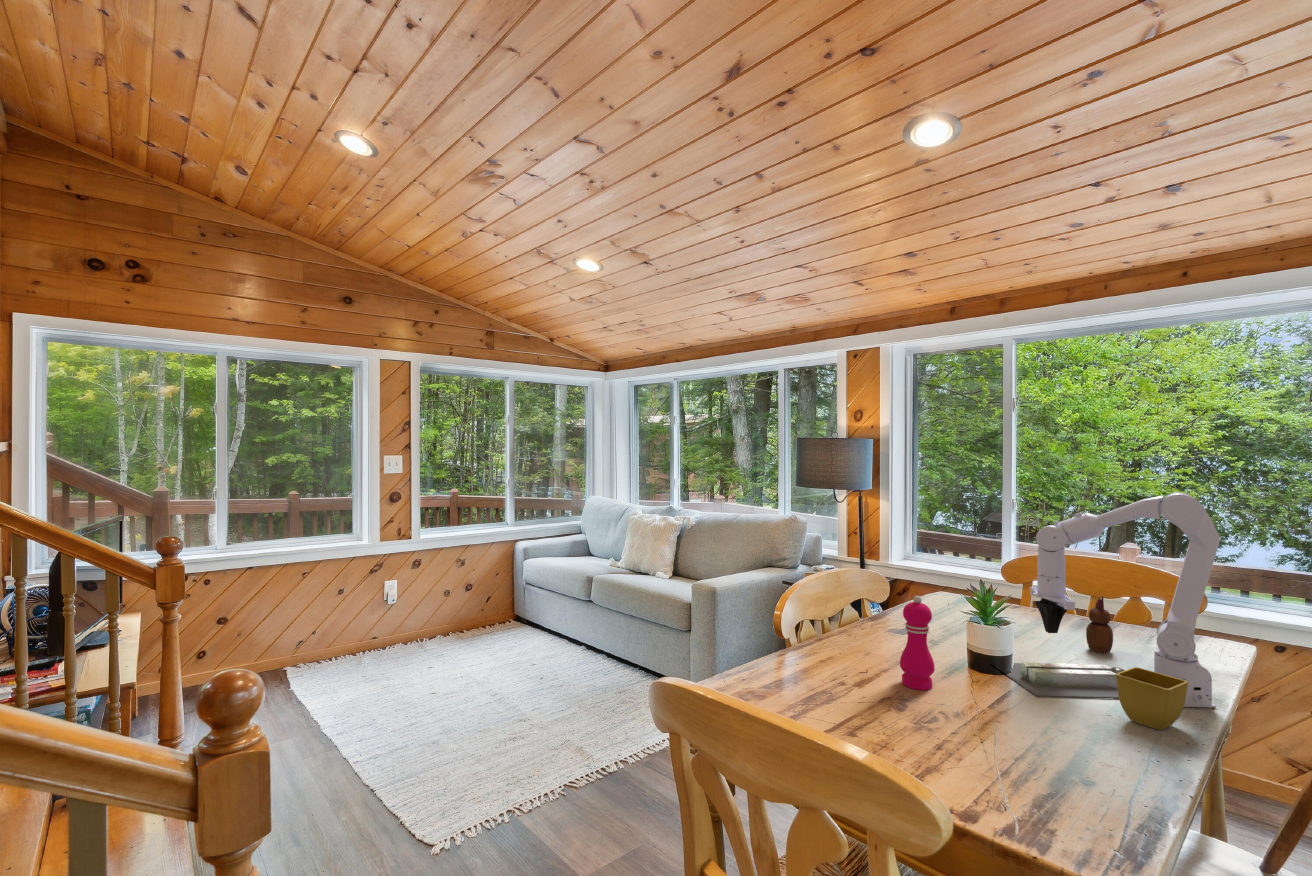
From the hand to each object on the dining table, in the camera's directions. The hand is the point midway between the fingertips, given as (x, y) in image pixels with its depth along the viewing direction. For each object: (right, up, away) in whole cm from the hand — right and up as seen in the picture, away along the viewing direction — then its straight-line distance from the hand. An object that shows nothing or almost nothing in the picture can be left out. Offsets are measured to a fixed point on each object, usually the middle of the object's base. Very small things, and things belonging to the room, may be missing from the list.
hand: (1051, 632), depth 146 cm
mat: (+1, -9, -6) cm, 11 cm away
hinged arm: (0, -9, -7) cm, 11 cm away
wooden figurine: (+23, -10, +15) cm, 29 cm away
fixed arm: (-2, -9, -10) cm, 13 cm away
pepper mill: (-37, -9, -10) cm, 39 cm away
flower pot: (+2, -9, -28) cm, 29 cm away
